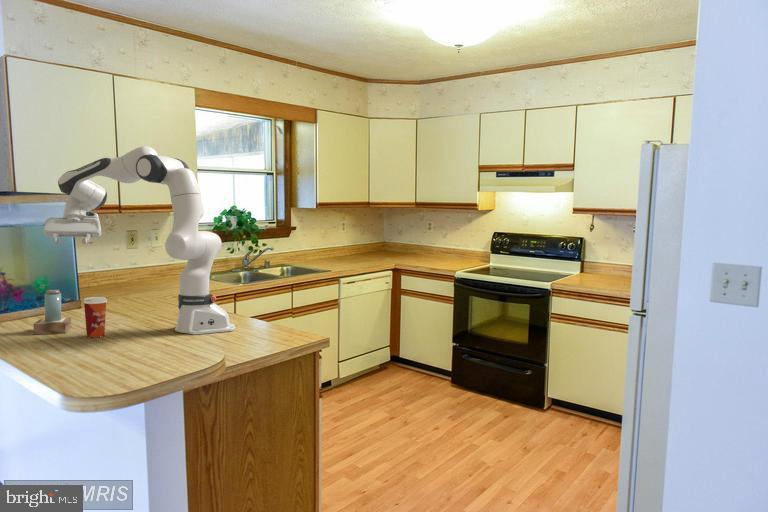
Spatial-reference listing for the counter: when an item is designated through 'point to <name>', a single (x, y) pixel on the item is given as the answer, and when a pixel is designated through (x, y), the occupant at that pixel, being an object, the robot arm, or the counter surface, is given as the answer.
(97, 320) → the paper cup
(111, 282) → the counter surface
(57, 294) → the jar
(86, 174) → the robot arm
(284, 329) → the counter surface
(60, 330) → the base
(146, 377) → the counter surface
